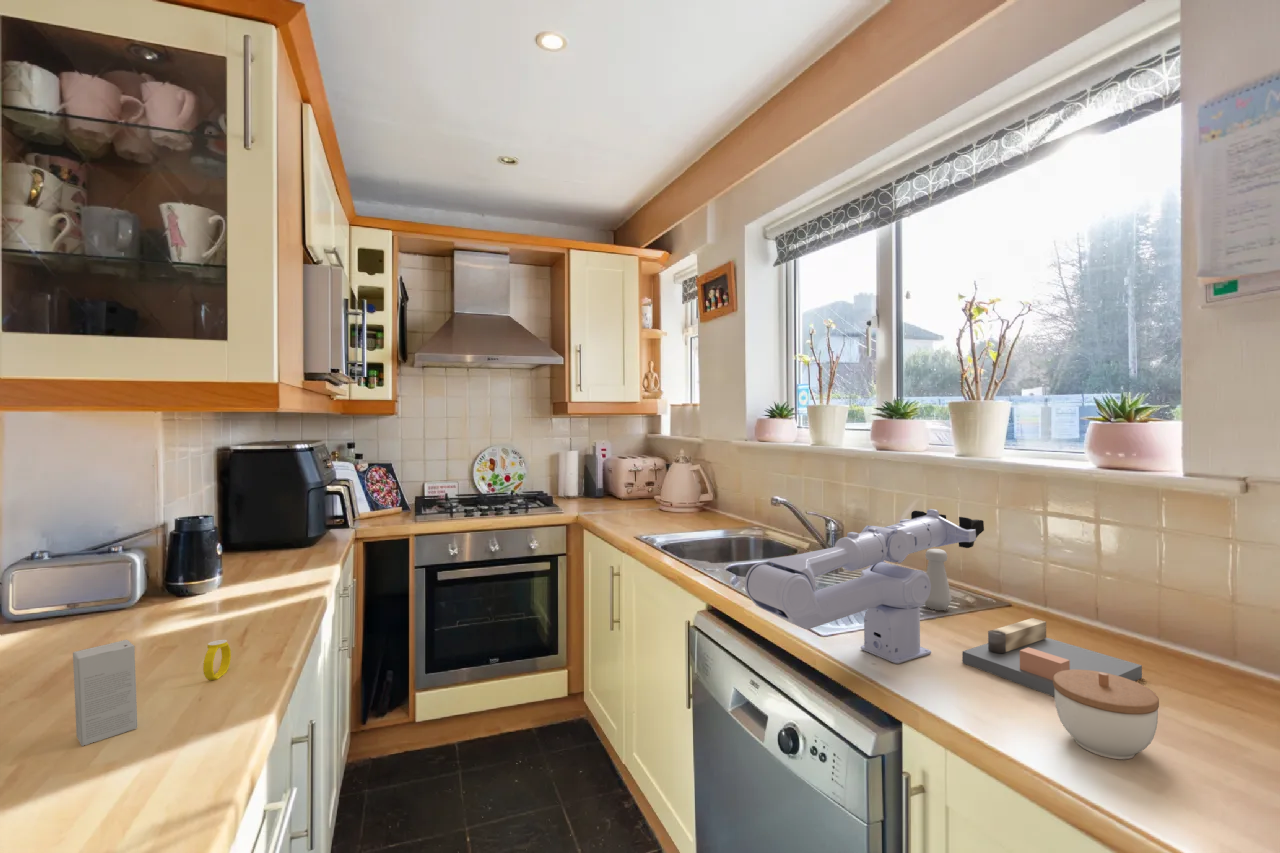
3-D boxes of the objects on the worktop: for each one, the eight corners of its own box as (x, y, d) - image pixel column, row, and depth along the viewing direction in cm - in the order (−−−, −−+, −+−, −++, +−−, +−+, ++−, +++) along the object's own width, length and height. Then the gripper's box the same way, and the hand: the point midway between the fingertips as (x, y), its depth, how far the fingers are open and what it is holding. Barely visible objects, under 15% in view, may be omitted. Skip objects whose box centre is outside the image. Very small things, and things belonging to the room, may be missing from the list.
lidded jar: (1111, 776, 70) (1110, 697, 70) (1033, 730, 81) (1032, 661, 81) (1182, 763, 72) (1182, 687, 72) (1098, 720, 83) (1097, 653, 83)
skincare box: (131, 719, 87) (129, 638, 87) (137, 729, 84) (135, 645, 84) (74, 737, 82) (72, 651, 82) (79, 747, 80) (77, 658, 80)
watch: (218, 671, 104) (218, 637, 105) (235, 670, 105) (235, 636, 105) (198, 684, 98) (198, 647, 99) (216, 683, 99) (217, 646, 99)
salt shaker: (948, 614, 128) (948, 553, 128) (919, 609, 132) (919, 550, 132) (953, 606, 133) (953, 548, 133) (925, 602, 136) (925, 545, 136)
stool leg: (1000, 654, 101) (1000, 636, 101) (985, 649, 103) (984, 631, 103) (1046, 638, 108) (1046, 621, 108) (1031, 634, 110) (1031, 617, 110)
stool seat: (1079, 706, 87) (1079, 672, 87) (962, 662, 103) (962, 634, 103) (1141, 677, 96) (1141, 646, 96) (1025, 641, 112) (1025, 615, 112)
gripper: (952, 518, 104) (998, 506, 111) (883, 508, 117) (928, 498, 123) (954, 558, 104) (1000, 544, 111) (885, 544, 117) (930, 532, 124)
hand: (962, 522), depth 117 cm, fingers open, 7 cm apart
